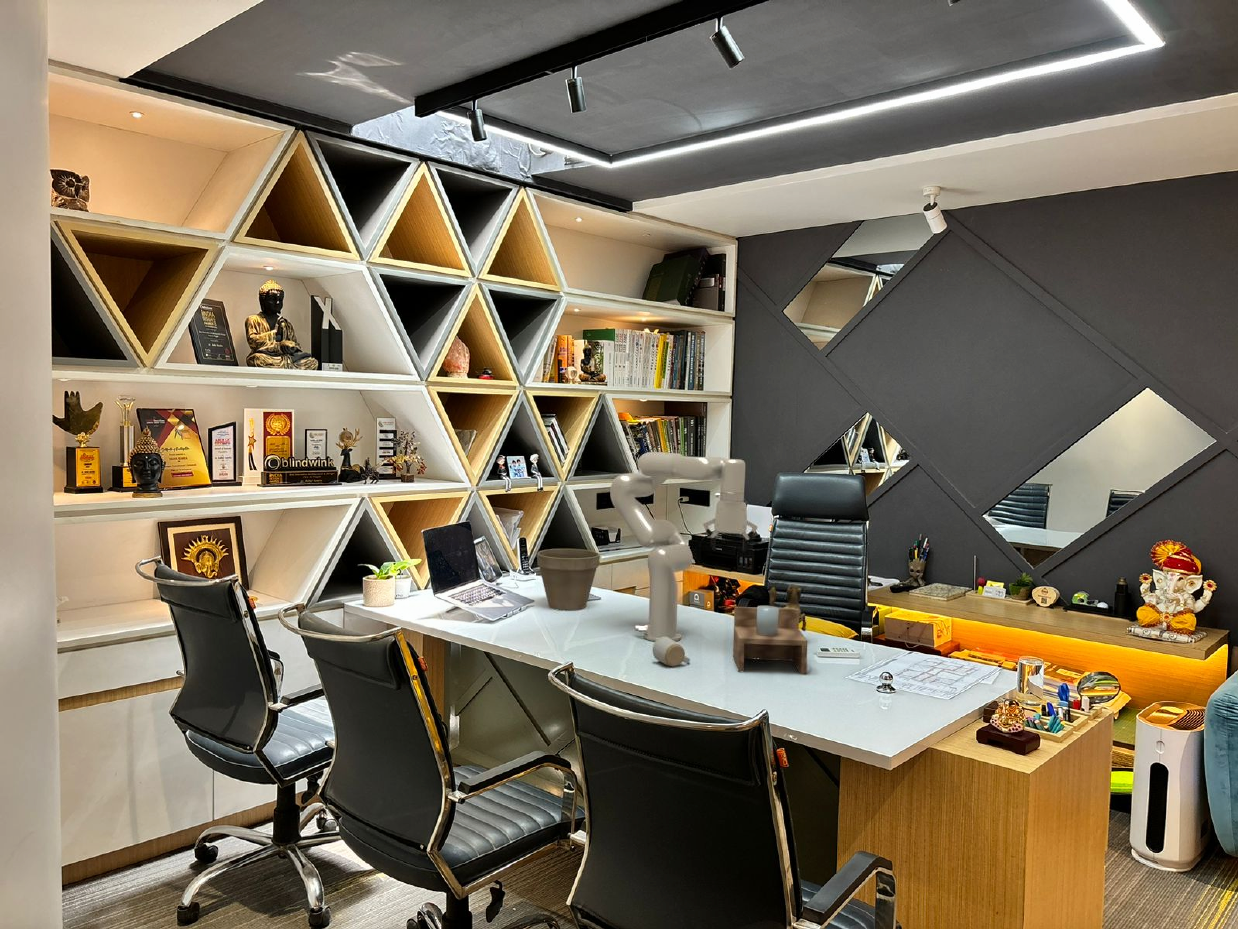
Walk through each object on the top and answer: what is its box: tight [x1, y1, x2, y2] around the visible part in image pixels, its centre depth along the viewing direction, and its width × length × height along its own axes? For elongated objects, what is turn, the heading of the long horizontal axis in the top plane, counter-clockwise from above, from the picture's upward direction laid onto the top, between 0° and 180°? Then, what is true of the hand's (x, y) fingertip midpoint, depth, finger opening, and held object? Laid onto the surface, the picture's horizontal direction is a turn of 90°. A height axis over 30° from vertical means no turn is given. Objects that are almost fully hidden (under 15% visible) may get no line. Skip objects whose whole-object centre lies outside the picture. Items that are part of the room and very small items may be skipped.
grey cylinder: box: [756, 605, 779, 636], centre depth 274 cm, size 6×6×8 cm
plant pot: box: [536, 548, 601, 612], centre depth 358 cm, size 25×25×22 cm
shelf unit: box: [732, 606, 808, 675], centre depth 276 cm, size 20×17×16 cm
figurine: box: [769, 584, 807, 632], centre depth 305 cm, size 13×25×20 cm, turn 134°
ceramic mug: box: [652, 637, 691, 667], centre depth 275 cm, size 11×8×8 cm
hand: (728, 550), depth 291 cm, fingers open, 9 cm apart
